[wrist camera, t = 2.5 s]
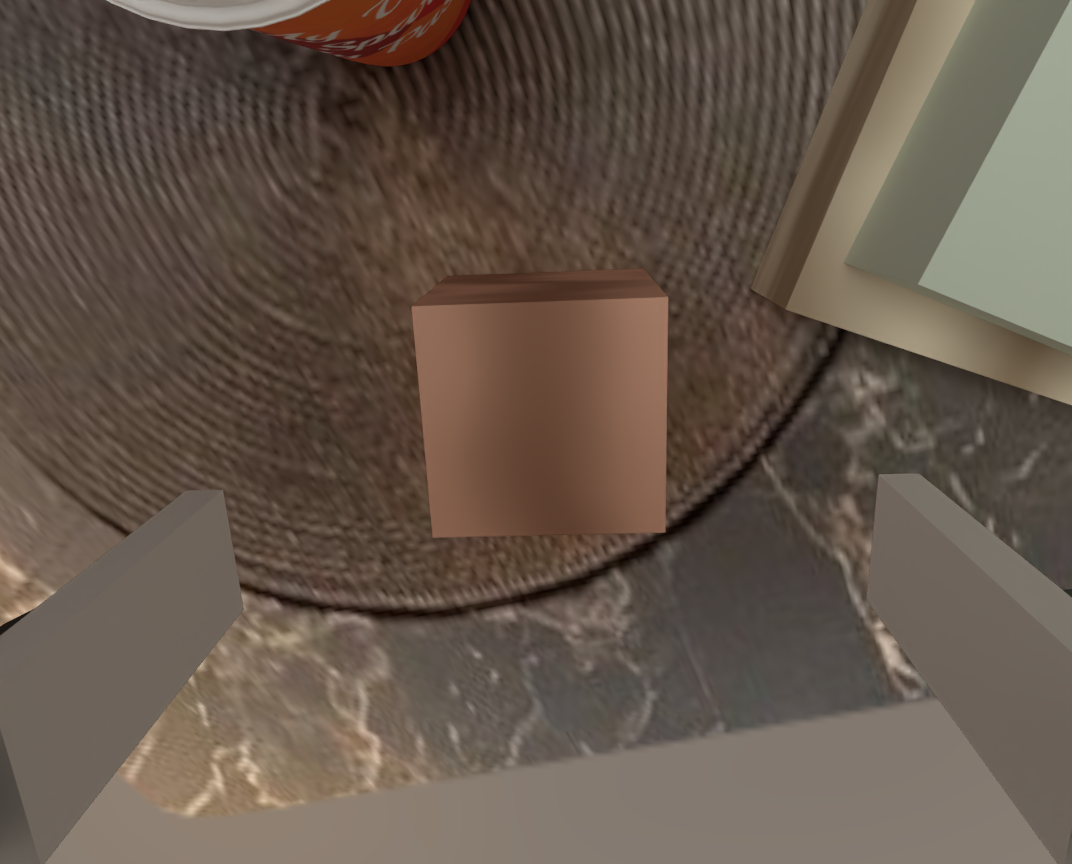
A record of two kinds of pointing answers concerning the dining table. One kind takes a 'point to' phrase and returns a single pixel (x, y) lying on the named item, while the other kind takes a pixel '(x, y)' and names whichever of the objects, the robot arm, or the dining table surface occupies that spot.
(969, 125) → the tower top
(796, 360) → the dining table surface
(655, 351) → the terracotta cube
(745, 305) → the dining table surface
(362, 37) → the coffee cup
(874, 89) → the tower base
